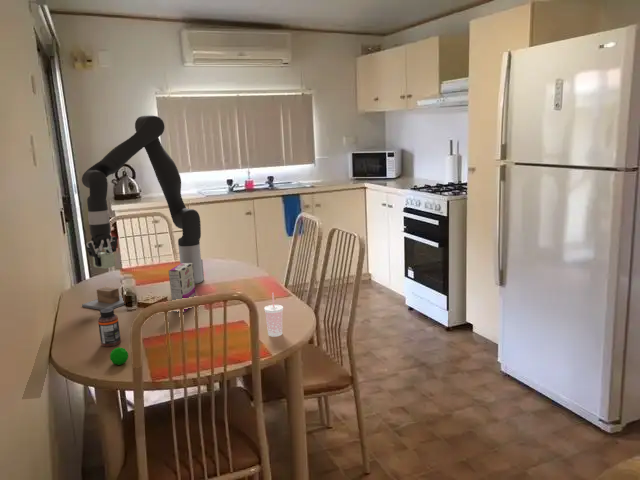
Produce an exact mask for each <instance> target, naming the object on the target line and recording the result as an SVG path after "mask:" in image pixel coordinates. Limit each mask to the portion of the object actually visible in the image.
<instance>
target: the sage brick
mask: <svg viewBox="0 0 640 480" xmlns="http://www.w3.org/2000/svg"><path fill="white" fill-rule="evenodd" d="M100 257H101V267H97V266H96V265H95V258H94V257H92V263H93V264H92V265H93V268H99V269H110V268H113V267H115V266H116V259H115V253H114V252H113V253H106V251H105V252H102V251H101V254H100Z"/></svg>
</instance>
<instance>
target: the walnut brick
mask: <svg viewBox="0 0 640 480" xmlns="http://www.w3.org/2000/svg"><path fill="white" fill-rule="evenodd" d="M96 296H97V299H98V302H102V303H109V304H112V303H114V302H117V301H119V300H120V298H119V296H120V291H119V288H118V287H110V286H104V287H101V288H97V289H96Z"/></svg>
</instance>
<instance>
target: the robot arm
mask: <svg viewBox="0 0 640 480" xmlns="http://www.w3.org/2000/svg"><path fill="white" fill-rule="evenodd" d="M134 130H135V133H134V134H133V135H131V136H129V137H128V138H127V139H126V140H125V141H123V142H121V143H120V144H118V145H116V146H115V147H114V148H112V149H111V150H110V151H109V152H108V153H107V154H105V156H103V158H102V159H101V160H100V161H98V162H96V163H95V164H93V165H92V166H90V167H89V168H88V169H87V170H86V171H84V173H83V174H82V176H81V181H82V185H84V187H86V188H88V189H89V195H88V197H87V199H86V203H87V212H88V213H87V215H88V216H87V218H88V224H89V225H88V227H89V235H90V236H91V239H90V241H88V242H87V241H86V242H85V243H84V245H85V248H86V250H87V254H88V256H89V257H92V258H93V257H94V258H95V265H96V266H97V267H96V268H98V267H101V257H100V254H101V252H102V251H103V250H104V251H105V253H113V254H114V253H115V252H116V251H117V246H118V236H112V235H111V233H112V231H111V230H112V229H111V221H110V219H111V218H110V214H109V213H110V212H109V209H108V201H107V200H108V199H107V196H108V187H109V185H108V183H109V182H108V177H109V176H111V175H114V174H116V173H117V172H118V171H119V170H120V169H121V168H123V166H124V165H126V164H127V162H128V161H129V160H131V159H132V158H133V157H134V156H136V154H137V153H138V152H140V151H141V150H142V149H143V148H144V150H145V151H146V154H147V157H148V159H149V162H150V164H151V166H152V168H153V171H154V175H155V177H156V179H157V182H158V183H159V187H160V188H161V191H162V193H163V197H164V199H165V200H166V203H167V206H168V210H169V213H170V217H171V220H172V222H173V224H174V226H175V227H176V228H178V229H180V230H182V236H180V237H179V238H178V240H177V244H178V254H179V264H181V263H193V273H194V283H195V285H196V284H200V283H202V282H203V281H204V280H205V274H204V261H203V259H202V254H201V246H200V245H201V244H200V242H201V241H200V240H201V236H202V231H201V229H202V228H201V217H200V214H199V212H198V211H197V210H195V209H194V208H187V207H186V205H185V203H184V201H183V198H182V192H181V191H182V178H181V174H180V173H179V170H178V167H177V165H176V163H175V162H174V159H172V158H171V156H170V155H169V154H168V152H167V151H166V150H165V148H164V147H163V145H162V142H161V141H160V137H161V136H162V134H163V133H164V132H165V123H164V121H163V119H162V118H161V117H160V116H158V115H152V114H151V115H149V114H148V115H147V114H146V115H141V116H138V117H137V118H136V120H135V123H134Z"/></svg>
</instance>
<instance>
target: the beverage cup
mask: <svg viewBox="0 0 640 480" xmlns="http://www.w3.org/2000/svg"><path fill="white" fill-rule="evenodd" d="M274 294H275V293H274V292H272V293H271V297H272V304H270V305H266V306H264V312H265V319H266V326H267V327H266V328H267V335H268V336H269V337H272V338H274V337H280V336H282V335H283V311H284V306H283V305H280V304H275V295H274Z"/></svg>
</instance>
